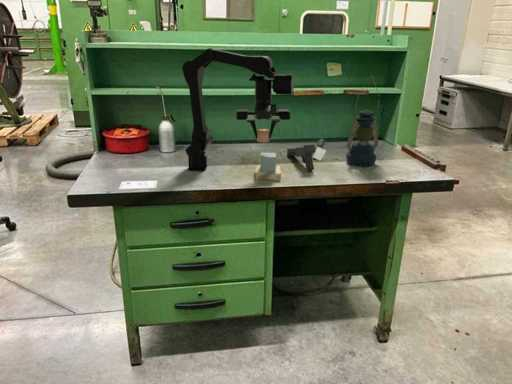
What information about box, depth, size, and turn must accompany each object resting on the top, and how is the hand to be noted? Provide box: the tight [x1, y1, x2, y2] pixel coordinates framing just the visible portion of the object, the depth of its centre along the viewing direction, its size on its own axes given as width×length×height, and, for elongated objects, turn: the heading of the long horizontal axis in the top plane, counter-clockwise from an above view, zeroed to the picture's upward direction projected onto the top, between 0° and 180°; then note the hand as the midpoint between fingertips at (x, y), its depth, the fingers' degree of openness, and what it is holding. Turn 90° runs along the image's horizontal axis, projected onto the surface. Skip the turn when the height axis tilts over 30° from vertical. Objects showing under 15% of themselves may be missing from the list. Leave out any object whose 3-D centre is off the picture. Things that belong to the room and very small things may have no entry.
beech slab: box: [254, 164, 282, 181], centre depth 154 cm, size 9×9×2 cm
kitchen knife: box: [312, 138, 327, 161], centre depth 187 cm, size 29×3×5 cm
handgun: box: [286, 144, 316, 172], centre depth 170 cm, size 4×24×10 cm, turn 16°
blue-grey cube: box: [259, 152, 277, 172], centre depth 153 cm, size 6×6×6 cm
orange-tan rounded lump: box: [256, 128, 270, 144], centre depth 151 cm, size 4×4×4 cm
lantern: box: [345, 74, 380, 168], centre depth 166 cm, size 14×12×35 cm
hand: (263, 138), depth 152 cm, fingers closed on orange-tan rounded lump, 4 cm apart
